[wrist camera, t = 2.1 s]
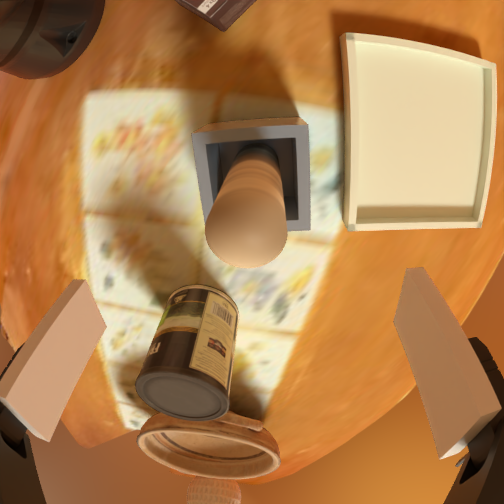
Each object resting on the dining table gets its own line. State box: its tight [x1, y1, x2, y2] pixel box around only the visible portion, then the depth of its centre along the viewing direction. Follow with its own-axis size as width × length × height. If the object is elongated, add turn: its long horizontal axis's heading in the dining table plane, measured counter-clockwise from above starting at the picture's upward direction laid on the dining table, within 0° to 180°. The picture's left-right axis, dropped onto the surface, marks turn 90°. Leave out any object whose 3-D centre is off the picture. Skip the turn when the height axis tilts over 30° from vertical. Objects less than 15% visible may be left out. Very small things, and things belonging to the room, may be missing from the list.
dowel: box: [205, 143, 287, 268], centre depth 23 cm, size 4×4×15 cm
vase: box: [187, 475, 241, 504], centre depth 67 cm, size 16×16×22 cm
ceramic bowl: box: [137, 410, 281, 479], centre depth 52 cm, size 37×29×10 cm
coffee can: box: [135, 285, 239, 421], centre depth 35 cm, size 10×10×14 cm
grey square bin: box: [191, 117, 310, 231], centre depth 27 cm, size 9×9×7 cm
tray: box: [339, 32, 497, 231], centre depth 26 cm, size 20×18×3 cm
